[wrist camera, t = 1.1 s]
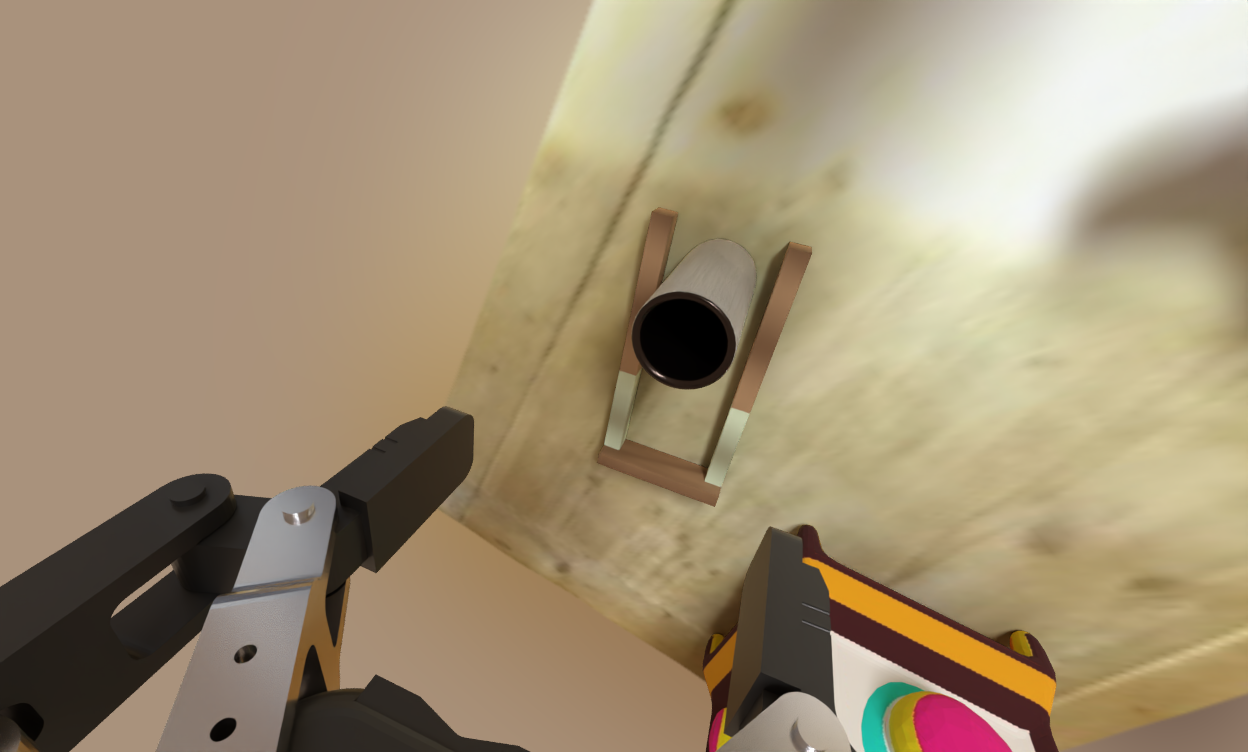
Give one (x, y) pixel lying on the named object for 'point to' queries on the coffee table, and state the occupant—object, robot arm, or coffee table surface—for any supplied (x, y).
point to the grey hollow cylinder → (696, 316)
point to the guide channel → (709, 480)
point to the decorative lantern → (912, 674)
